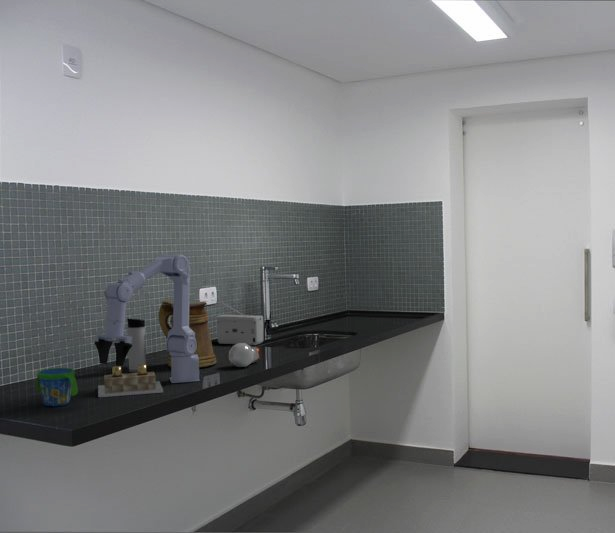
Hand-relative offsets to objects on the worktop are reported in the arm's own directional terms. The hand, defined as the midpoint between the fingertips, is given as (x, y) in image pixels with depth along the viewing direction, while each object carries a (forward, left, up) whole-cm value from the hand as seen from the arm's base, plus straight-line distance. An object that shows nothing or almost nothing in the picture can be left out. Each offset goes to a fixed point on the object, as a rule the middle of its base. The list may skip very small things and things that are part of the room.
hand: (111, 365), depth 224 cm
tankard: (-29, -50, -11) cm, 59 cm away
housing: (-6, -10, -11) cm, 16 cm away
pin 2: (-10, -10, -6) cm, 15 cm away
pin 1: (-2, -10, -6) cm, 12 cm away
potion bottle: (-50, -40, -11) cm, 65 cm away
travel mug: (-10, -44, -11) cm, 46 cm away
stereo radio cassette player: (-59, -96, -11) cm, 113 cm away
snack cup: (+16, +2, -11) cm, 20 cm away
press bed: (-6, -10, -11) cm, 16 cm away
